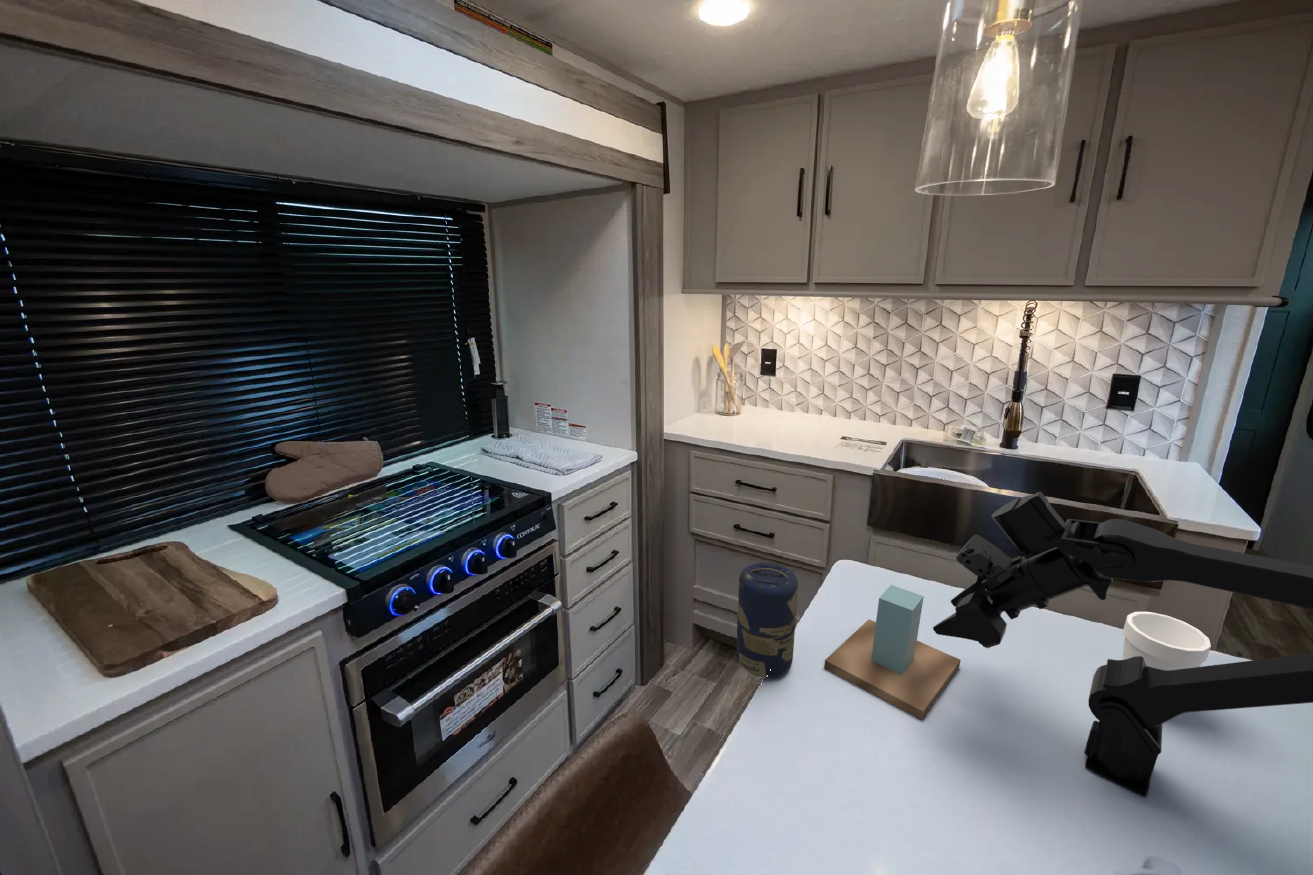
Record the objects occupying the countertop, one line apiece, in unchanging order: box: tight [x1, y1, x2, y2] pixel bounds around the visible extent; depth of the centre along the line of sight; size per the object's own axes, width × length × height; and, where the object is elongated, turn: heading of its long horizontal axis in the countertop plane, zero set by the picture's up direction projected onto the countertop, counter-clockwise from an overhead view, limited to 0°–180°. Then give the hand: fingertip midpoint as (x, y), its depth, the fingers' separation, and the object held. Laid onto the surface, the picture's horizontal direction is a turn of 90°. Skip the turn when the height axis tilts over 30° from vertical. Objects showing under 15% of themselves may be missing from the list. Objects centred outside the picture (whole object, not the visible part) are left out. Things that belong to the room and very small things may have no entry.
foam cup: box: [1121, 611, 1212, 670], centre depth 86 cm, size 10×9×13 cm
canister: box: [735, 562, 799, 678], centre depth 94 cm, size 10×10×18 cm
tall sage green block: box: [871, 584, 925, 675], centre depth 93 cm, size 5×5×12 cm
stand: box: [823, 618, 961, 721], centre depth 95 cm, size 16×16×5 cm
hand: (944, 616), depth 87 cm, fingers open, 9 cm apart
